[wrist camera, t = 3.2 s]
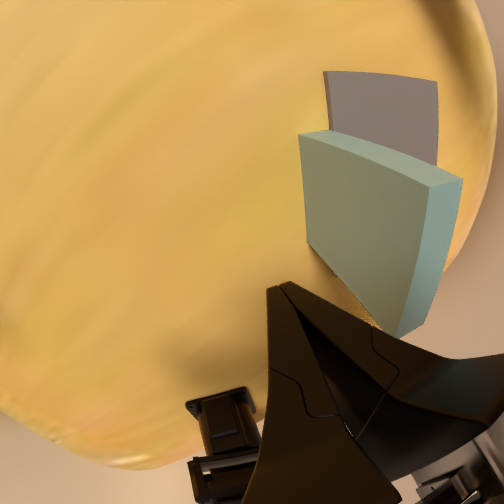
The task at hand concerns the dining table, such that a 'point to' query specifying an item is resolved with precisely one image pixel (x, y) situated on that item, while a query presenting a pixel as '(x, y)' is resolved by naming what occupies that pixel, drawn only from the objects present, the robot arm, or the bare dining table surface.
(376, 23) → the dining table surface
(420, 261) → the tile
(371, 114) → the mat
